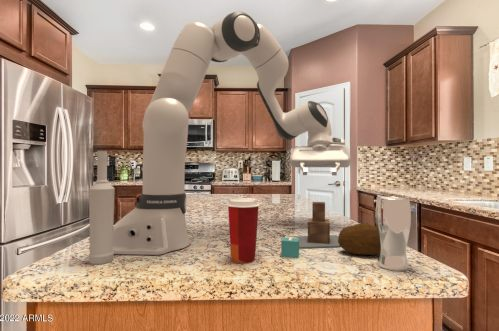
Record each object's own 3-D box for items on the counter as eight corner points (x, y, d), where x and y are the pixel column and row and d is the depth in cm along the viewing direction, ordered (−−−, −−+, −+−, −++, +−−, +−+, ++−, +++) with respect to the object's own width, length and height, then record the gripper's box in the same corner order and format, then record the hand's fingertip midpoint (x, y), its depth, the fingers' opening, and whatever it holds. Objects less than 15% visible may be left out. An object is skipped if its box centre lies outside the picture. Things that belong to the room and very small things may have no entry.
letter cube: (281, 257, 70) (281, 239, 70) (283, 252, 74) (283, 236, 74) (298, 258, 69) (298, 241, 69) (299, 253, 73) (299, 237, 73)
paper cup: (263, 256, 70) (263, 198, 71) (253, 266, 63) (253, 202, 63) (233, 253, 73) (233, 197, 73) (220, 262, 66) (220, 200, 66)
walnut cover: (307, 242, 82) (307, 203, 82) (308, 237, 88) (308, 201, 88) (329, 243, 81) (329, 204, 81) (328, 238, 87) (329, 201, 87)
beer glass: (417, 272, 60) (417, 199, 60) (383, 271, 61) (383, 199, 61) (400, 261, 67) (400, 196, 67) (370, 261, 67) (370, 196, 68)
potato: (335, 248, 78) (335, 219, 78) (383, 250, 77) (383, 220, 77) (341, 257, 70) (341, 225, 70) (395, 259, 69) (395, 227, 69)
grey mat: (299, 248, 77) (299, 247, 77) (286, 237, 89) (286, 236, 89) (355, 246, 80) (355, 245, 80) (336, 236, 92) (336, 235, 92)
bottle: (94, 257, 69) (95, 151, 69) (117, 257, 69) (118, 151, 69) (84, 265, 63) (85, 150, 64) (109, 264, 64) (110, 150, 64)
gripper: (290, 140, 106) (287, 167, 97) (349, 139, 101) (352, 167, 92) (291, 153, 111) (288, 180, 101) (348, 152, 106) (350, 180, 96)
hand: (319, 174), depth 96 cm, fingers open, 8 cm apart
